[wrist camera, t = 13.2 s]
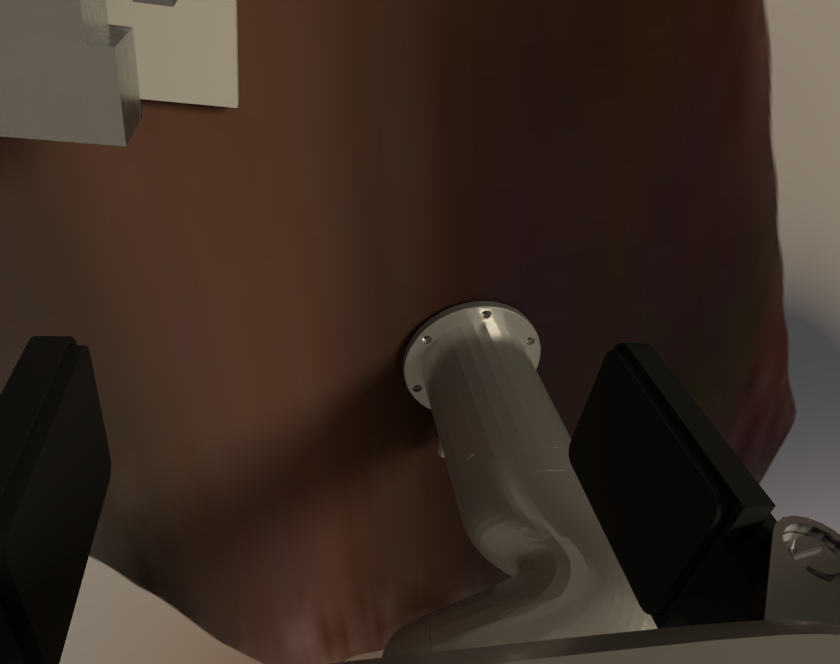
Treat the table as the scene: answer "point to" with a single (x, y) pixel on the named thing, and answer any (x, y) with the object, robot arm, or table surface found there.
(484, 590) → the robot arm
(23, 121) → the grey upright bar
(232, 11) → the rack
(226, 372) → the table surface
